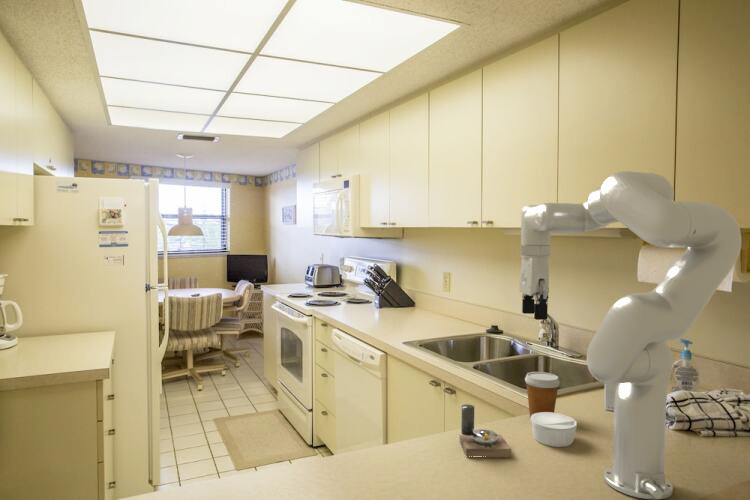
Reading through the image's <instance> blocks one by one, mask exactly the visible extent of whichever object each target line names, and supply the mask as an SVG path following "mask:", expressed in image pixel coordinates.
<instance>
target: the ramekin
mask: <svg viewBox="0 0 750 500" xmlns="http://www.w3.org/2000/svg"><path fill="white" fill-rule="evenodd" d="M530 423H531V428H532V429H531V430H532V436H533V438H534V439H535V440H536V442H538V443H539V444H541V445H545V446H547V447H553V448H566V447H568V446H571V445H572V444H573V442H574V440H575V437H576V436H575V435H576V430H577V427H578V422H577V421H576V419H574V418H572V417H571V416H568V415H565V414H563V413H558V412H554V413H552V412H540V413H535V414H533V415H532V416H531V417H530Z"/></svg>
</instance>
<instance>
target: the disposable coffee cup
mask: <svg viewBox="0 0 750 500" xmlns="http://www.w3.org/2000/svg"><path fill="white" fill-rule="evenodd" d="M524 381H525V383H526V391H527V393H526V394H527V400H528V401H527V403H528V409H529V418H531V416H532V415H533V414H535V413H540V412H552V413H555V408H556V402H557V396H558V388H559V386H560V384H561V381H560V379H559V376H558V375H556V374H554V373H549V372H544V371H531V372H527V373H526V375H525V377H524Z"/></svg>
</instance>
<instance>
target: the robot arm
mask: <svg viewBox="0 0 750 500" xmlns="http://www.w3.org/2000/svg"><path fill="white" fill-rule="evenodd" d="M674 195H675V190H674V187H673V185H672V183H671V182H670V180H668V178H666V177H665V176H662V175H660V174H658V173H654V172H653V173H652V172H643V171H640V172H639V171H629V170H625V171H623V170H622V171H618V172H614V173H613V174H611V175H609V176H608V177H607V178H605V179H604V181H603V182H602V184H601V186H599V187H596V188H595V189H593V190H592V191H590V194H589V195H588V199H587V201H584V202H580V203H570V202H569V203H567V202H566V203H565V202H545V203H541V204H537V205H536V204H532V205H531V204H530V205H526V206H524V207H523V208H522V209H521V216H520V217H521V219H520V220H521V222H520V223H521V224H520V258H521V264H520V272H519V292H520V293H522V295H521V297H522V298H521V299H522V303H521V304H522V306H521V309H522V310H521V312H522V314H524V315H525V314H526V315H527V314H528V315H529V314H530V315H533V314H534V315H533V319H535V320H537V321H541V320H543V321H545V320H548V304H549V292H550V274H549V273H550V270H549V269H550V268H549V259H550V258H551V244H552V243H551V241H552V240H551V239H552V238H551V237H552V234H580V233H581V234H582V233H588V232H591V231H597V230H600V229H603V228H607V227H608V226H610V225H612V224H615V223H621V224H622V225H623V226H625V228H628V230H630V231H631V232H632V233H633V234H635V235H637V237H638V238H640V239H642V240H643V241H644V242H646V243H648V244H650V245H652V246H655V247H659V248H667V249H668V248H670V249H671V248H686V250H685V251H684V253H683V254H681V256H680V257H678V258H677V259H676V260H675V261H674V262H672V263H671V265H670V266H669V267H668V268H667V269H666V271H665V273H664V274H663V276H662V278H661V280H660V281H659V282H658V284H657V285H656V287H654V289H652V290H650V291H648V292H638V293H637V292H636V293H630V294H626V295H624V296H622V297H621V298H619V299H617V300H616V301H615V302H614V303H613V304H612V305H611V307H610V308H609V309H608V312H607V313H606V315H605V316H604V318H603V320H602V322H601V324H600V325H599V327H598V329H597V331H596V332H595V334H594V336H593V337H592V339H591V341H590V343H589V345H588V348H587V352H586V365H587V368H588V371H589V372H590V375H591V376H592V377H593V378H594V379H595V380H597V381H598V382H601V383H602V384H604V385H605V384H613V385H614V384H618V385H617V388H616V392H615V398H614V411H613V430H612V431H613V435H612V437H613V438H612V466H610V467H608V468H606V469H605V470H604V473H603V475H604V481H605V482H606V483H607V484H608V485H609V486H610V487H611V488H613V489H614V490H616V491H618V492H620V493H622V494H625V495H627V496H630V497H632V498H633V497H634V498H637V499H644V500H664V499H667V498H670V497H671V496H672V494H673V493H674V492H673V489H674V486H673V484H672V483H671V482H670V480H669V479H667V478H666V474H665V457H666V456H665V454H666V453H665V452H666V417H667V402H668V400H667V399H668V398H667V397H668V390H669V383H670V378H671V375H672V370H673V364H674V358H673V353H672V350H671V348H670V346H669V344H668V343H667V342H670V341H675V340H679V339H681V338H683V337H684V336H685V335H687V333H688V332H689V331H690V330H691V328H692V327H693V324H694V323H695V322H696V321H697V319H698V318H699V316H700V315H701V313H702V312H703V310H704V308H706V306H707V305H708V303H709V302H710V300H711V298H712V297H713V295H714V294H715V292H716V291H717V289H718V288H719V287H720V285H721V284H722V283H723V281H724V280H725V279H726V277H727V276H728V275H729V274H730V272H731V270H732V269H733V267H735V264H736V263H737V261H738V258H739V255H740V254H741V249H742V242H743V241H742V232H741V228H740V226H739V224H738V222H737V220H736V217H734V215H732V213H730V212H729V211H728V210H727V209H725V208H724V207H722V206H720V205H717V204H715V203H714V204H713V203H709V202H705V201H704V202H701V201H685V200H684V201H682V200H681V201H680V200H674Z"/></svg>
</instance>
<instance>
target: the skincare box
mask: <svg viewBox="0 0 750 500" xmlns="http://www.w3.org/2000/svg"><path fill="white" fill-rule="evenodd" d="M617 385H618V384H614V385H613V384H605V383H604V410H606V411H613V412H614V398H615V392H616V388H617Z"/></svg>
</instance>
